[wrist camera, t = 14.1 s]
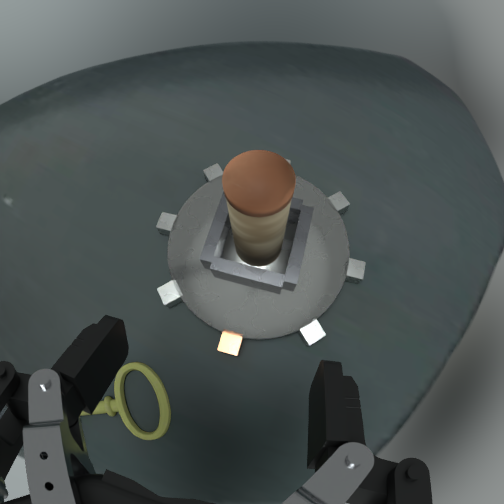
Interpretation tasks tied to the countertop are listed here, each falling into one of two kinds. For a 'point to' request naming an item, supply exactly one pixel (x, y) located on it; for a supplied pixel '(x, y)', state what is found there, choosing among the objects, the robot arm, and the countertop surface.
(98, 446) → the countertop surface
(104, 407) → the key
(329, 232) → the sprocket plate
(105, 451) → the countertop surface
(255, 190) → the pin
